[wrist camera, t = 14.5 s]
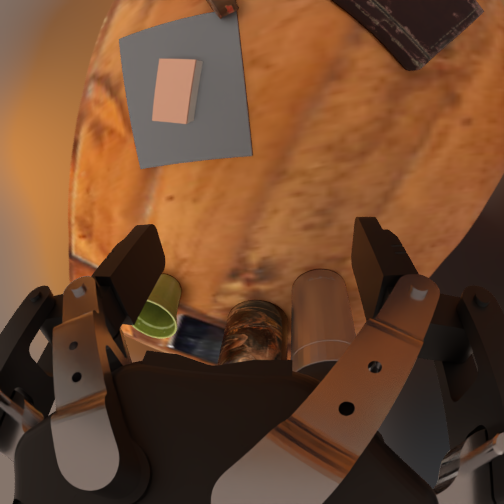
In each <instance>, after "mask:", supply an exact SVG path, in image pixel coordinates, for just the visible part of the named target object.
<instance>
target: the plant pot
mask: <svg viewBox="0 0 504 504" xmlns="http://www.w3.org/2000/svg"><path fill="white" fill-rule="evenodd" d="M180 296H181V288H180V285H179V283H178V281H177V280H176V279H174V278H173V277H171V276H170V275H167V274H161V276H160V277H159V279H158V281H157V283H156V285H155V287H154V288H153V290H152V292H151V294H150V296H149V298H148V300H147V301H146V303H145V305H144V307H143V309H142V311H141V313H140V315H139V317H138V319H137V321H136V323H135V325H132V326H133V327H134V328H135V329H137V330H138V331H140V332H141V333H143V334H145V335H148V336H151V337H154V338H168V337H171V336H173V335H174V334H175V332H176V330H177V322H176V320H177V318H176V314H177V309H178V305H179V300H180Z"/></svg>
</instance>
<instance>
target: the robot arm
mask: <svg viewBox="0 0 504 504" xmlns="http://www.w3.org/2000/svg"><path fill="white" fill-rule="evenodd" d="M351 260H352V268H353V272H354V275H355V279H356V282H357V286H358V289H359V293H360V297H361V301H362V305H363V309H364V313H365V317H366V321H367V322H366V323H365V325H364V326H363V327H362V329H361V330H360V332H359V333H358V334H357V336H356V334H355V329H354V324H353V319H352V314H351V309H350V304H349V299H348V294H347V290H346V285H345V282H344V280H343V279H342V277H341V276H340V275H338V274H337V273H335V272H333V271H330V270H323V269H319V270H313V271H309V272H307V273H305V274H303V275H301V276H300V277H299V278H298V279H297V280H296V281H295V283H294V284H293V287H292V323H291V360H248V361H242V362H236V363H230V364H223V365H217V366H211V365H207V364H204V363H201V362H198V361H195V360H192V359H190V358H187V357H184V356H181V355H178V354H170V353H161V352H154V351H146V354H145V356H144V359H143V361H139V362H133V363H132V361H131V358H130V355H129V352H128V348H127V345H126V341H125V338H124V334H123V332H122V330H121V328H120V327H121V325H122V324H128V325H135V323H136V321H137V319H138V317H139V315H140V313H141V311H142V309H143V307H144V305H145V303H146V301H147V300H148V298H149V296H150V294H151V292H152V290H153V288H154V287H155V285H156V283H157V281H158V279H159V277H160V276H161V274H162V272H163V270H164V268H165V255H164V252H163V249H162V245H161V242H160V239H159V235H158V232H157V229H156V227H155V226H154V225H153V224H148V225H137V226H135V227H134V228H133V230H132V231H131V232H130V233H129V234H128V235H127V237H126V238H125V239H124V240H122V241H121V242H119V243H118V244H117V245H116V246H115V247H114V249H113V250H112V252H111V253H109V255H108V256H107V259H105V260H104V261H103V262H102V263H101V265H100V266H99V267H98V268H97V270H96V271H95V272H94V273H93V275H92V276H91V277H90V276H84V277H81V278H78V279H76V280H74V281H73V282H71V283H70V284H69V285H68V286H67V287H66V289H65V291H64V293H63V294H61V295H57V296H53V294H52V292H51V290H50V289H49V287H48V286H40V287H38V288H36V289H34V290H33V291H32V292H31V293H29V294H28V296H27V297H26V298H25V300H24V301H23V302H22V304H21V305H20V306H19V308H18V309H17V310H16V312H15V313H14V315H13V316H12V318H11V319H10V320H9V322H8V324H7V325H6V326H5V328H4V330H3V331H2V332H1V334H0V454H2V455H3V456H6V457H8V458H9V459H10V460H12V461H13V462H14V469H15V470H14V471H15V493H14V494H15V495H14V501H13V504H504V313H503V311H502V309H501V307H500V305H499V304H498V302H497V300H496V298H495V297H494V296H493V295H492V293H491V292H489V291H488V290H487V289H485V288H483V287H480V286H468V287H466V288H465V290H464V291H463V294H462V296H461V298H460V297H454V296H449V295H444V294H440V291H439V288H438V286H437V285H436V284H435V283H434V282H433V281H432V280H431V279H429V278H427V277H425V276H423V275H419V274H418V272H417V270H416V269H415V267H414V265H413V263H412V261H411V259H410V258H409V256H408V254H407V253H406V251H405V249H404V247H403V246H402V244H401V242H400V240H399V239H398V237H397V236H396V235H395V234H393V233H392V232H391V231H389V230H383V229H382V228H381V226H380V224H379V222H378V221H377V219H376V217H356V219H355V224H354V235H353V244H352V254H351ZM39 329H40V330H41V331H42V333H43V334H44V335H45V337H46V338H47V340H48V341H49V342H48V344H47V346H46V348H45V350H44V351H43V354H42V355H41V357H40V359H39V361H38V363H36V362H35V361H34V360H33V359H32V358H31V356H30V353H29V346H30V343H31V342H32V340H33V339H34V337H35V335H36V334H37V332H38V331H39ZM472 352H473V354H474V356H475V359H476V362H477V365H478V371H477V368H476V365H475V362H474V359H473V356H472ZM417 357H418V358H424V359H430V360H434V364H435V368H436V372H437V376H438V380H439V385H440V389H441V393H442V399H443V404H444V409H445V415H446V421H447V428H448V435H449V443H450V451H449V452H448V453H447V454H446V455H445V457H444V458H443V460H442V463H441V466H440V472H439V479H438V482H437V484H436V486H435V488H434V489H432V488H431V487H430V486H429V484H427V482H426V481H425V480H423V479H422V478H421V477H420V476H419V475H418V474H417V473H416V472H415V471H414V470H413V469H412V468H411V467H410V466H408V465H407V464H406V463H405V462H404V461H403V460H402V459H401V458H400V457H399V456H398V455H397V454H396V453H395V452H394V451H393V450H392V449H391V448H390V447H389V446H388V445H387V444H386V443H385V442H384V439H383V437H382V435H381V434H380V433H379V431H378V428H379V427H380V425H381V424H382V422H383V420H384V419H385V417H386V415H387V414H388V412H389V411H390V409H391V407H392V405H393V404H394V402H395V400H396V398H397V396H398V395H399V393H400V391H401V389H402V387H403V385H404V383H405V381H406V379H407V377H408V375H409V373H410V371H411V369H412V367H413V365H414V363H415V361H416V359H417ZM54 400H55V403H56V411H55V412H54V413H52V414H51V415H49V416H48V414H49V412H50V410H51V407H52V405H53V402H54Z"/></svg>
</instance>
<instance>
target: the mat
mask: <svg viewBox="0 0 504 504" xmlns="http://www.w3.org/2000/svg"><path fill="white" fill-rule="evenodd" d="M119 45H120V54H121V63H122V71H123V78H124V85H125V91H126V98H127V104H128V110H129V115H130V121H131V126H132V131H133V136H134V141H135V146H136V150H137V155H138V160H139V164H140V168H141V169H144V168H150V167H156V166H163V165H170V164H177V163H185V162H193V161H201V160H210V159H221V158H232V157H244V156H252V155H253V154H252V144H251V134H250V125H249V115H248V106H247V97H246V88H245V79H244V70H243V61H242V52H241V43H240V35H239V26H238V18H237V10H236V11H235V12H233V13H230V14H228V15H226V16H224V17H222V18H221V19H220V18H219V17H218V16H217V15H216V13H215V12H211V13H206V14H201V15H196V16H192V17H187V18H183V19H179V20H175V21H172V22H168V23H165V24H161V25H158V26H155V27H151V28H148V29H145V30H142V31H140V32H137V33H134V34H131V35H128V36H126V37H123V38H121V39H119ZM159 59H194V60H199V61H203V64H202V69H201V75H200V81H199V88H198V94H197V101H196V108H195V115H194V121H192V122H190V123H187V124H181V123H171V122H160V121H152V114H153V104H154V95H155V87H156V79H157V72H158V65H159Z"/></svg>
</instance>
